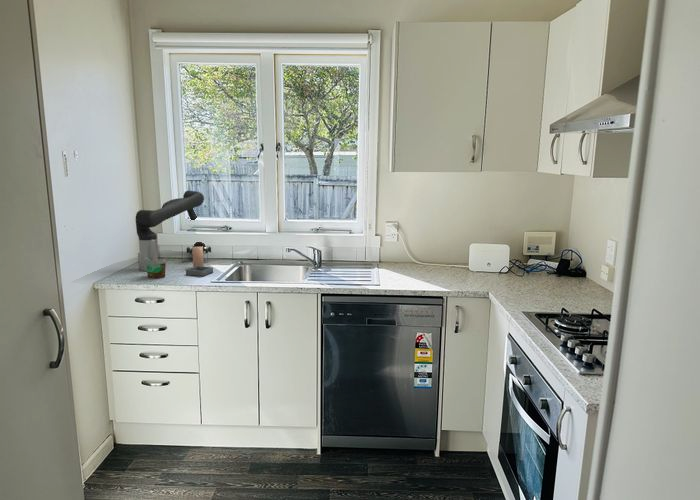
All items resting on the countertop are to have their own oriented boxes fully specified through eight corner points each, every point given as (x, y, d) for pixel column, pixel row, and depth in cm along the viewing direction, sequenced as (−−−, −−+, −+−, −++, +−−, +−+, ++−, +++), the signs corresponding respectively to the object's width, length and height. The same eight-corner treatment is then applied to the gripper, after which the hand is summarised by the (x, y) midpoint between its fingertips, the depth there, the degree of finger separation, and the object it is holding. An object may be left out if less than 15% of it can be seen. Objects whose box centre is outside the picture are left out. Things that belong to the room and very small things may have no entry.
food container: (139, 277, 246) (138, 259, 244) (147, 275, 252) (146, 256, 250) (159, 280, 243) (158, 261, 241) (167, 277, 248) (166, 258, 246)
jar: (191, 268, 270) (190, 247, 267) (197, 266, 275) (196, 246, 273) (199, 269, 268) (199, 248, 266) (205, 267, 273) (204, 246, 271)
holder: (186, 275, 254) (185, 269, 254) (197, 271, 264) (197, 265, 263) (202, 276, 251) (202, 271, 251) (213, 272, 261) (213, 267, 260)
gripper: (187, 241, 293) (185, 246, 278) (211, 241, 297) (210, 245, 282) (187, 253, 295) (186, 258, 279) (211, 252, 298) (211, 257, 283)
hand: (198, 252), depth 280 cm, fingers open, 8 cm apart
